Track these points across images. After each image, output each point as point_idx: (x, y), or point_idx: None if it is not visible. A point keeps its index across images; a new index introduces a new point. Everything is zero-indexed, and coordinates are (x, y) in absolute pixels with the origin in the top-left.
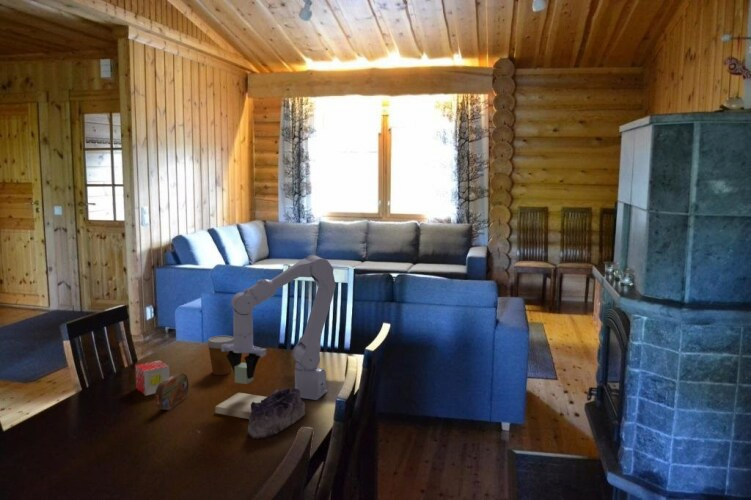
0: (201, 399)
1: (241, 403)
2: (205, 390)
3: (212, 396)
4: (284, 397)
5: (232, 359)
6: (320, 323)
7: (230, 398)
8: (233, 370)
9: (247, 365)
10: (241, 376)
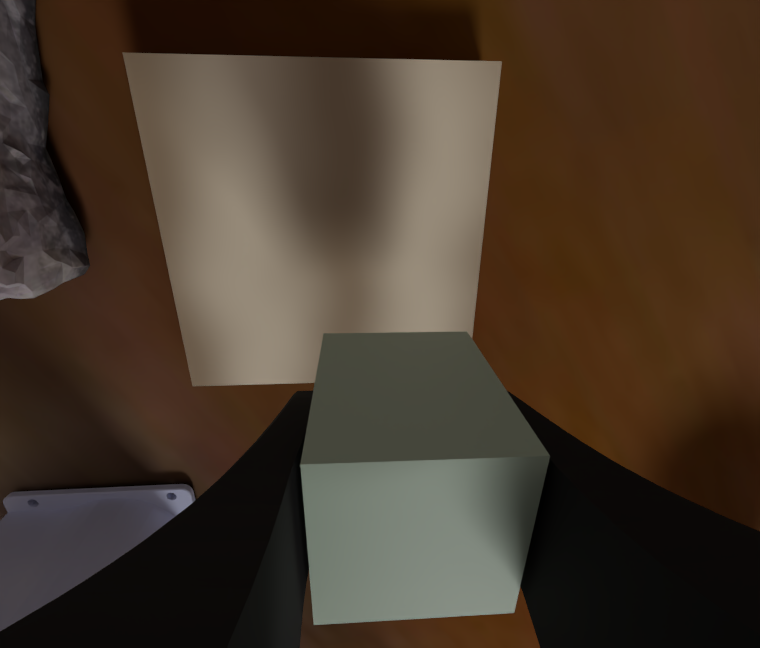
0: (682, 260)
1: (329, 210)
2: (705, 384)
3: (629, 326)
4: None
5: (689, 570)
6: None
7: (465, 266)
8: (544, 420)
9: (254, 513)
10: (389, 372)
